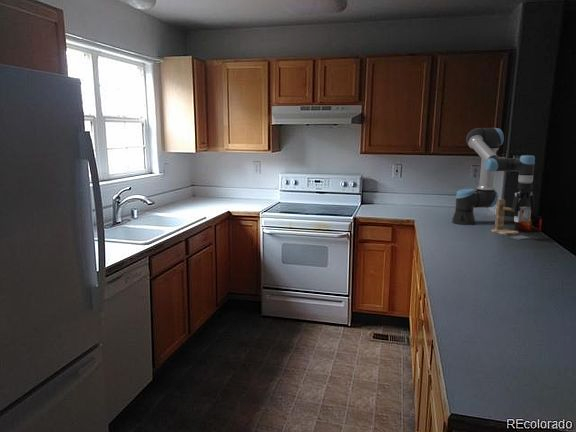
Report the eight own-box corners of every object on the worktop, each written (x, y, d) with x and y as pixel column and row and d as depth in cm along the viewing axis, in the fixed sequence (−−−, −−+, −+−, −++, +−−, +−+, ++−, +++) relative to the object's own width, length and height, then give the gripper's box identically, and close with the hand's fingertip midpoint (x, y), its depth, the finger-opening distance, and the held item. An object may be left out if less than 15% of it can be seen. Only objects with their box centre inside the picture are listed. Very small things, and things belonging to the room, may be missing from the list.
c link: (519, 221, 250) (520, 208, 248) (514, 220, 252) (515, 207, 251) (529, 220, 252) (530, 207, 251) (524, 219, 255) (526, 206, 254)
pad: (510, 237, 256) (510, 236, 256) (521, 236, 259) (521, 235, 259) (518, 239, 250) (519, 238, 250) (530, 238, 253) (530, 237, 253)
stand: (490, 231, 273) (493, 200, 270) (502, 229, 277) (505, 199, 273) (507, 235, 262) (510, 202, 258) (520, 234, 265) (522, 201, 261)
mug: (541, 232, 269) (543, 213, 267) (516, 231, 273) (518, 212, 271) (536, 229, 278) (538, 210, 276) (513, 228, 282) (514, 210, 280)
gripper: (517, 183, 241) (514, 223, 245) (544, 182, 249) (540, 220, 253) (506, 182, 248) (503, 221, 252) (532, 181, 256) (529, 218, 260)
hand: (521, 221), depth 253 cm, fingers closed on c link, 8 cm apart
